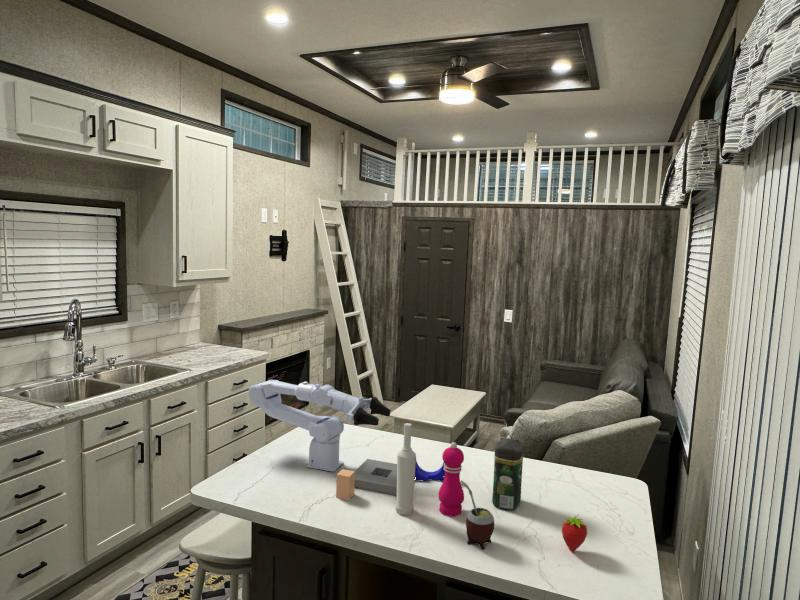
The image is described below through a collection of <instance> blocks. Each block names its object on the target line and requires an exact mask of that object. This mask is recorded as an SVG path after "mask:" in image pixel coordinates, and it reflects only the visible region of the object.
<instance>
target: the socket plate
mask: <svg viewBox="0 0 800 600" xmlns="http://www.w3.org/2000/svg"><path fill="white" fill-rule="evenodd" d="M354 471H355V484H354V488H356V487H358V488H357V489H362V490H366V489H367V490H368V491H371V490H372V492H376V491H377V493H383V494H387V495H393V496H397V463H393V462H387V461H381V460H377V459H369V458H367V459H366V460H365V461H363V463H362V464H360V465H359V466H358V468H356V469H355V470H354ZM376 474H378V475H376ZM379 475H383V476H379ZM385 476H387V477H385ZM367 490H366V491H367Z"/></svg>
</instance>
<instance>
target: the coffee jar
mask: <svg viewBox="0 0 800 600" xmlns="http://www.w3.org/2000/svg"><path fill="white" fill-rule="evenodd" d="M524 450H525V447H524V445H523V443H522V442H521V441H520V440H518V439H513V438H508V437H507V438H506V437H505V438H504V439H501V440H499V441H498V442H497V443H496V445H495V447H494V455H493V457H494V463H493V464H494V465H493V482H492V484H493V485H492V499H491V500H492V501H491V502H492V504H493V506H495V507H497V508H499V509H501V510H507V511H509V510H510V511H511V510H512V511H513V510H517V508H518V507H519V506H520V504H521V501H522V500H521V499H522V481H523V480H522V479H523V464H524Z"/></svg>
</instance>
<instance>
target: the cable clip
mask: <svg viewBox="0 0 800 600" xmlns="http://www.w3.org/2000/svg"><path fill="white" fill-rule="evenodd" d="M444 463H445V462H444V461H443V463H442V465H441V467H440V468H439V469H437V470H435V471H427V470H424V469H422V467H421V466H420V465H419V463H418V461H417V460H416V463H415V477H416V480H423V481H422V482H426V481H428V482H429V479H432V480H431V481H436V480H440V481H439V482H443V481H444V478H445V470H444ZM416 480H415V481H416Z"/></svg>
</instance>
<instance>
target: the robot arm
mask: <svg viewBox="0 0 800 600" xmlns="http://www.w3.org/2000/svg"><path fill="white" fill-rule="evenodd" d="M281 395H288V396H295V397H296V399H297V400H299V401H304V402H308V403H309V402H310V403H315V404H316V406H318V407H323V406H326V407H330V408H332V409H334V410H336V411H340V412H343V413H344V414H346V420H347V421H350V422H353V425H354V426H361V425H369V426H379V422H380V419H379V418H378V417H377V416H375V415H379V416H385V417H390V416H391V410H392V409H390V408H388V407H387V406H386V405H385V404H383V403H382V402H381V400H380V399H378V397H376V396H373V397H370V398H364V396H360V397H356V396H353V395H350V394H348V393H345V392H342V391H339V390H336V389H335V387H334V386H333V385H331V384H328V383H326V384H324V385H323V386H322V385H320V383H316V384H313V383H309V382H308V381H303V382H300V383H299V384H294V383H293V384H292V383H289V382H284V381H279V380H277V379H268V380H267V381H264V382H261V383H257V384H253V385H251V386H250V387H249V388H248V398H249V400H250V402H251V404H252V405H253V406H257V407H259V409H260V410H262V411H263V412H264V414H266V416H269V417H270V418H273V419H276V420H279V421H282V422H284V423H286V424H289V425H293V426H295V427H298V428H300V429H303V430H306V431H308V432H309V433H308V434H309V436H311V437H313V438H312V439H311V441H310V444H309V447H308V449H309V451H308V453H309V455H308V465H307V467H308V468H311V469H316V470H322V471H327V472H335V471H337V470H338V468H340V467H341V466H342V465H343V464H344V461H342V460H340V439H341V434H342V433H343V432H344V430H345V429H344V428H345V424H344V422H343V420H342V419H341V418H340V417H339V416H328V415H315V414H312V413H309V412H306V411H304V410H301V409H299V408H295V407H293V406H291V405H287V404H284V403H282V397H281ZM368 409H370V413H369V412H368V411H367V410H368ZM339 466H340V467H339Z"/></svg>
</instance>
